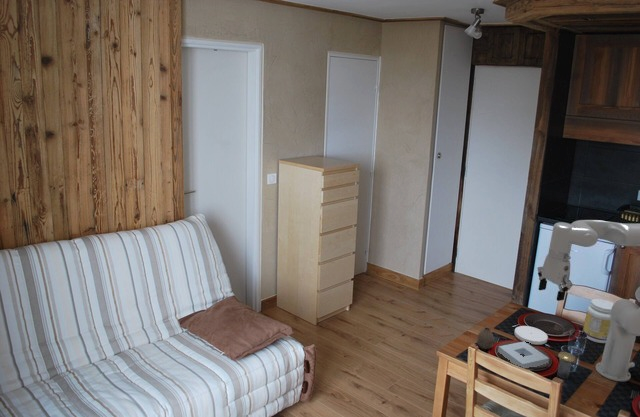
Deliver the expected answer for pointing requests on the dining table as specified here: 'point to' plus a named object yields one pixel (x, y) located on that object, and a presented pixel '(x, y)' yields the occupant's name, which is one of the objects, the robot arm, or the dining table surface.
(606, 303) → the supplement tub
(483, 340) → the vase
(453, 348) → the dining table surface
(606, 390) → the dining table surface
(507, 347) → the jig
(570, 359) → the gold lidded jar
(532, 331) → the plastic lid
